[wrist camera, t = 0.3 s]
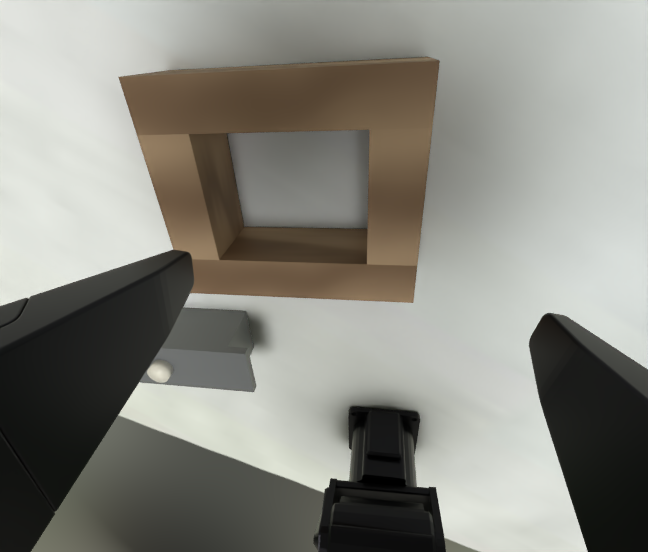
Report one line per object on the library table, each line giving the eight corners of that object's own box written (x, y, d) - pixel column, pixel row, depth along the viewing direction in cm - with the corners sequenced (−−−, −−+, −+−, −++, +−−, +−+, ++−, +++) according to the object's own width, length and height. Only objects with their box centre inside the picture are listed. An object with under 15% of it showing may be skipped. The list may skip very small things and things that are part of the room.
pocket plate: (408, 262, 24) (413, 302, 21) (215, 257, 26) (187, 292, 23) (427, 56, 18) (439, 61, 14) (168, 70, 20) (118, 77, 16)
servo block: (270, 347, 31) (250, 400, 26) (164, 340, 32) (127, 389, 28) (264, 311, 29) (241, 362, 24) (150, 305, 30) (108, 352, 26)
